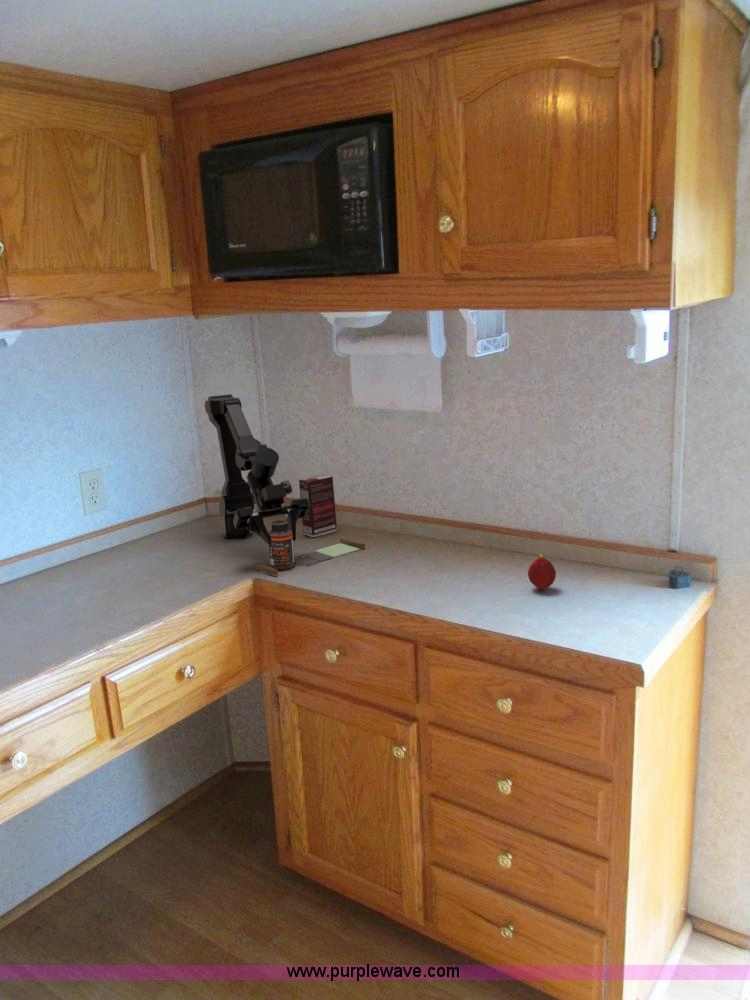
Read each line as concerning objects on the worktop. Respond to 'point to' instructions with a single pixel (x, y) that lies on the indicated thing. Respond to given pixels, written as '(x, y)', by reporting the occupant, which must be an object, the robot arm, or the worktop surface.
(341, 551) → the pad
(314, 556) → the pads
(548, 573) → the onion
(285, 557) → the supplement bottle
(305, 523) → the supplement box
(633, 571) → the worktop surface
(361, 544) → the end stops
